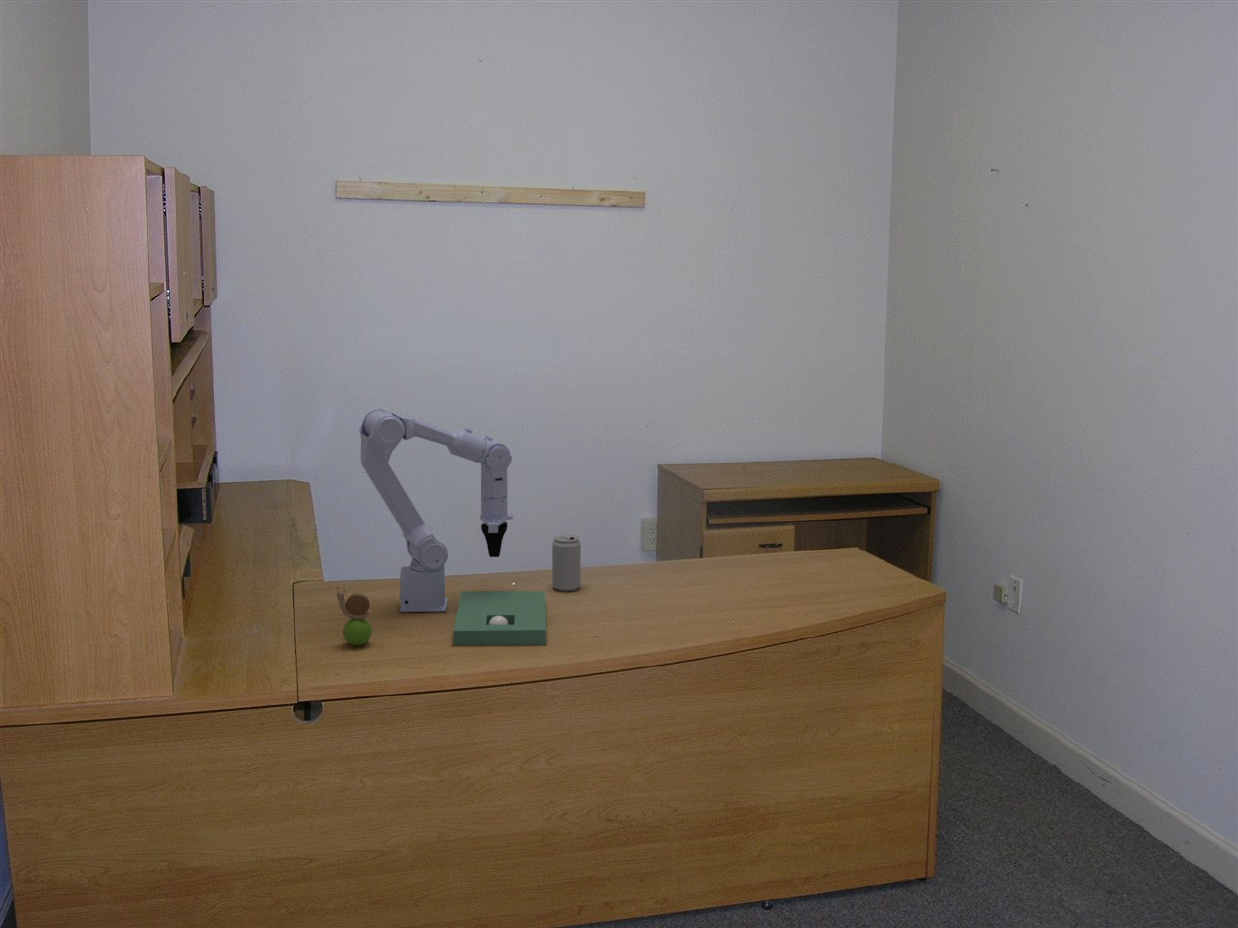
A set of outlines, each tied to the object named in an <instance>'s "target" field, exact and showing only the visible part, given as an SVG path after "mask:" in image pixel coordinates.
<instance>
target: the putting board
mask: <svg viewBox="0 0 1238 928" xmlns="http://www.w3.org/2000/svg"><path fill="white" fill-rule="evenodd" d="M495 616H503V617H504V618H506V620H507V621H508V625H489V621H490V620H491V619H492V618H493V617H495ZM546 617H547V616H546V592H545V590H509V591H508V590H502V591H501V590H492V591H491V590H490V591H489V590H488V591H487V590H485V591H484V590H483V591H482V590H479V591H478V590H477V591H476V590H475V591H467V590H466V591H465V590H463V591H461V592H460V595H459V601H458V605H457V611H456V614H455V620H454V625H453V631H452V635H453V636H452V643H453V646H520V645H521V646H532V645H533V646H538V645H539V646H541V645H547V641H546V640H547V626H546V625H547V623H546V622H547V621H546Z"/></svg>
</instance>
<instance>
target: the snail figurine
mask: <svg viewBox="0 0 1238 928" xmlns="http://www.w3.org/2000/svg"><path fill="white" fill-rule="evenodd" d="M335 588H336V590H337V592H336V597H337V599H338V603H339V604H338V605H339V608H340V610H341V612H342V613H343V615H344V616H346V617H347V618H350V619H349V620H347V621H346V623H345V624H344V626H343V630H342V635H343V638H344V641H346V643H348V644H350V645H352V646H356V647H357V646H362V645H364V644H366V643H367V642H369V640H370V638H371V637H372V633H373V631H372V629H373V628H372V626H371V624H370V622H369V621H368V620H367V619H366V618H368V617H369V615H370V614H371V612H368V611H369V609H370V606H371V603H370V600H369V598H368V597H367V596H366V595H365V594H362V593H357V592H356V593H353V594H351V595H350V596H348V598H347V599H346V601H345V598H344V597H345V593H344V592H343V591H341V590H339V589H340V588H341V586H340V585H336V586H335Z"/></svg>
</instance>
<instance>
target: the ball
mask: <svg viewBox="0 0 1238 928" xmlns="http://www.w3.org/2000/svg"><path fill="white" fill-rule="evenodd" d="M489 625H508V621H507V620H506V618H504V617H503V616H495V617H493V618H492V619H491V620H490V621H489Z"/></svg>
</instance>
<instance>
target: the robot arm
mask: <svg viewBox="0 0 1238 928" xmlns="http://www.w3.org/2000/svg"><path fill="white" fill-rule="evenodd" d="M359 434H360V463H361V467H362V469H364V472H366V474H367V476H368V477H369V479H370V481H371V482H372V484H373V486H374V487H375V489H376V490H377V492H378V494H379V495H380V497H381V499H382V500H383V501H384V502H383V503H384V504H385V505H386V507H387V509H388V510H389V512H390V514H391V515H392V517H393V518H394V520H395V522H396V523H397V524H398V526H399V528H400V530H401V532H402V535H403V538H404V539H405V542H406V549H407V550H406V551H407V552H408V554H409V556H410V557H411V558H412V559H411V562H410V565H409V566H408V565H407V566H401V569H400V573H399V574H400V575H399V577H400V578H399V588H400V589H399V600H400V608H399V609H400V612H401V613H409V612H410V613H418V612H419V613H421V612H422V613H423V612H424V613H429V612H430V613H432V612H434V613H435V612H438V613H440V612H441V613H442V612H446V610H447V607H448V602H449V598H448V597H446V581H445V579H446V576H445V575H446V574H445V572H446V571H445V567H446V566H445V564H446V562H447V561H448V557H449V552H448V551H449V550H448V548H447V546H446V545H445V544H444V543H443V542H441V541H439V540H438V539H437V538H436V537H435V536H434V535H435V534H434V533H433V532H432V530H430V529H429V527H428V526H427V525H426V524H425V521H423V519H422V517H421V515H420V514H419V513H420V512H418V510H417V508H416V507H415V505H414V503H413V502H412V500H411V498H410V497H409V495H408V494H407V492H406V491H405V489H404V487H403V484H401V482H400V480H399V479H398V476H396V473H395V472H394V470H393V468H392V467H391V466H390V463H389V462H390V460H391V459H390V458H391V456H392V454H393V452H394V450H395V449H396V448H397V447H398V445H399V444H400V443H401V441H403V440H404V441H409V440H411V439H413V438H419V439H423V440H425V441H426V440H427V441H429V442H433V443H435V444H439V445H442V446H445V447H447V449H448V451H449V454H451V455H452V456H455V457H459V458H461V459H465V460H467V461H470V462H473V463H476V464H480V516H479V519H480V521H481V522H483V523H481V525H480V529H481V532H482V534H483V535H484V539H485V543H486V547H487V552H488V555H489V557H490V558H499V557H500V555H501V551H502V550H501V549H502V544H503V539H504V536H505V534H506V532H507V529H508V522H507V521H509V520H510V521H511V520H513V519H514V518H513V517H514V515H513V514H510V513H509V514H508V468H509V466H510V465H511V463H512V460H513V456H512V455H511V451H510V449H509V448H508V446H506V444H503V443H502V442H499V441H497V440H494V439H493V438H492V437H490V436H488V435H485V437H484V436H481V435H479V434H476V433H474V432H473V430H472V429H470V428H468V427H464V429H463V428H458V429H455V430H454V431H449V430H447V429H444V428H441V427H439V426H436V425H434V424H432V423H428V422H426V421H424V420H420V419H418V418H416V417H413V416H411V415H405V414H402V413H397V412H393V411H390V413H389V412H388V411H387V410H384V409H381V408H375V409H371V410H370V411H369V412H367V413H366V415H365V416H364V418H363V420H362V423H361V424H360V427H359Z"/></svg>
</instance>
